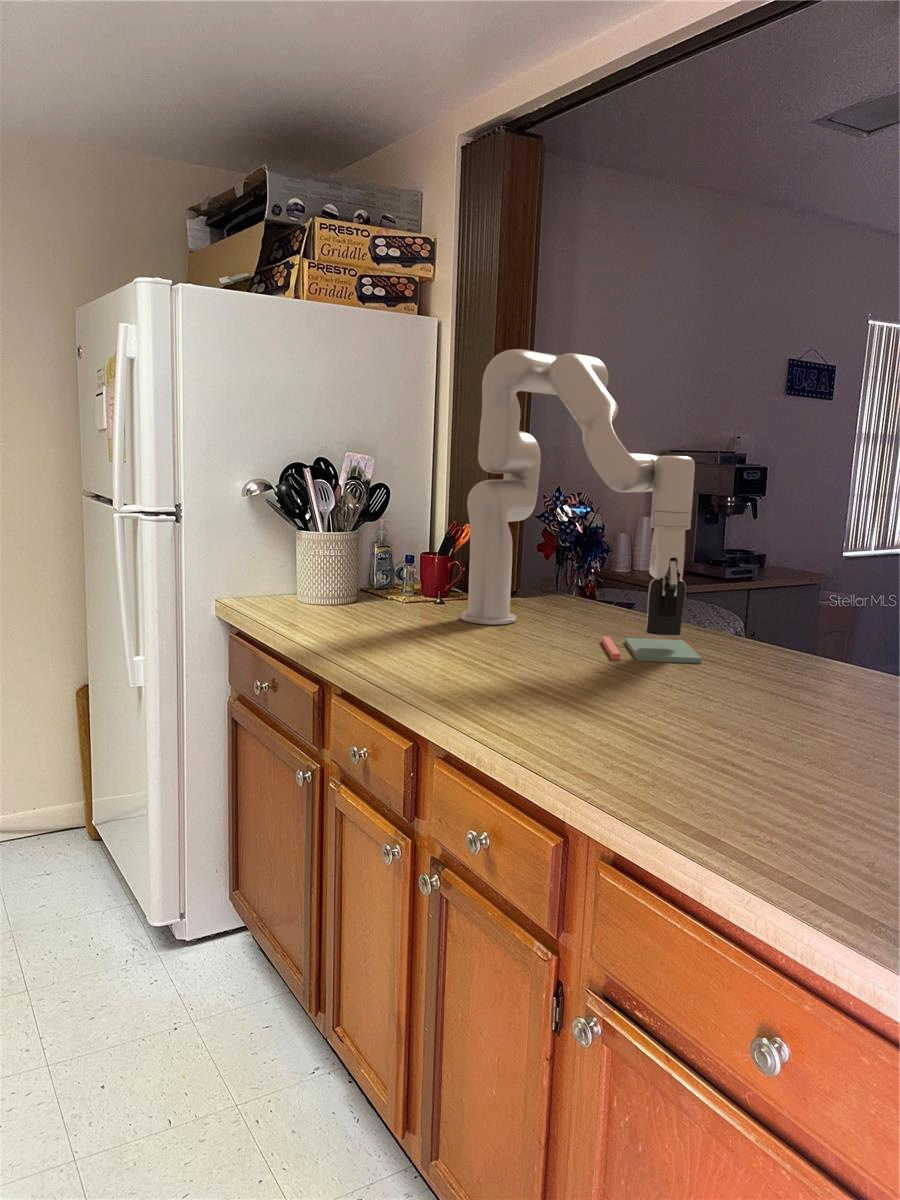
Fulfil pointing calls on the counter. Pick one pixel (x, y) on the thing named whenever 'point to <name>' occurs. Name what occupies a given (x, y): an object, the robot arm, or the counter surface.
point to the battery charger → (655, 621)
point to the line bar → (610, 648)
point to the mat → (662, 650)
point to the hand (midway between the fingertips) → (664, 613)
